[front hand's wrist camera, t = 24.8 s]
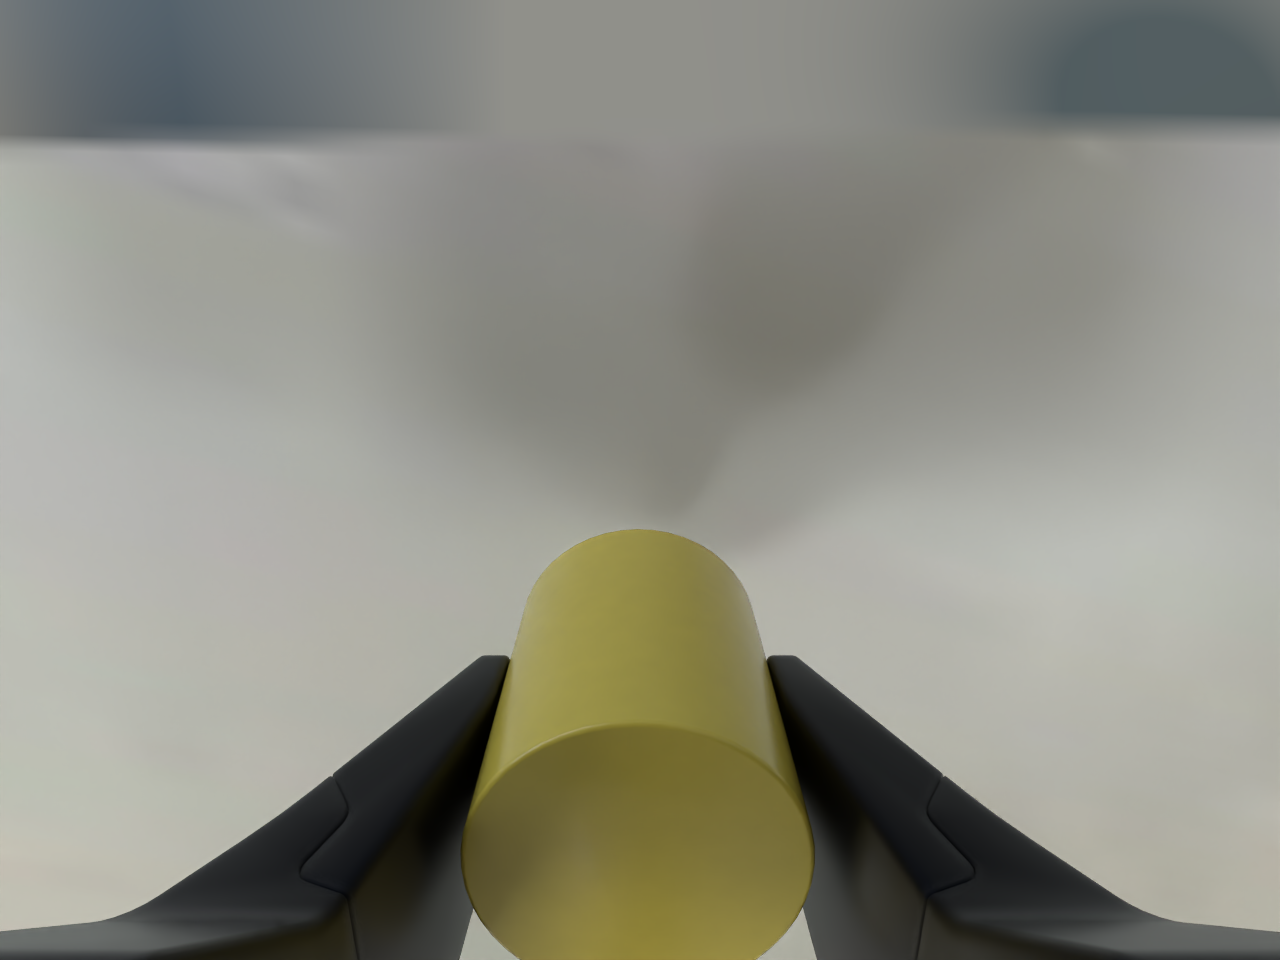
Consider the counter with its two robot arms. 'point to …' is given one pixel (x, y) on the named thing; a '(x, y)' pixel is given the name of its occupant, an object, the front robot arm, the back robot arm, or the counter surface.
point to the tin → (637, 768)
